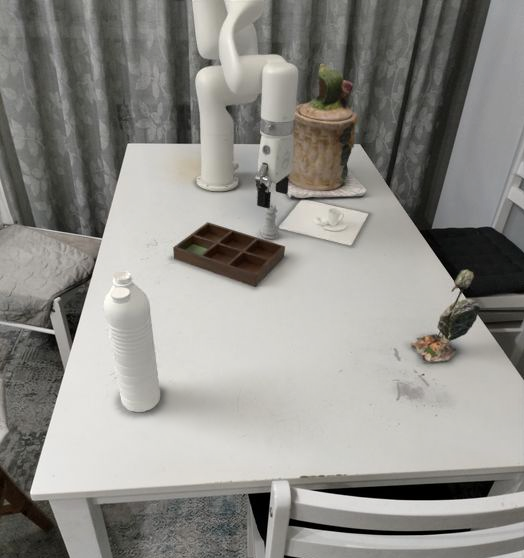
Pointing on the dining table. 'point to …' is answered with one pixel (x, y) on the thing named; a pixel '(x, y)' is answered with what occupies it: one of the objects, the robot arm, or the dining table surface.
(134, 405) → the water bottle
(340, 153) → the cookie jar
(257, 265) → the tray
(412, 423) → the dining table surface
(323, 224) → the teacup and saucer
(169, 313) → the dining table surface
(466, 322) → the plant with pod
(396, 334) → the dining table surface
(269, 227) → the rook chess piece
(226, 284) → the dining table surface
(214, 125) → the robot arm
